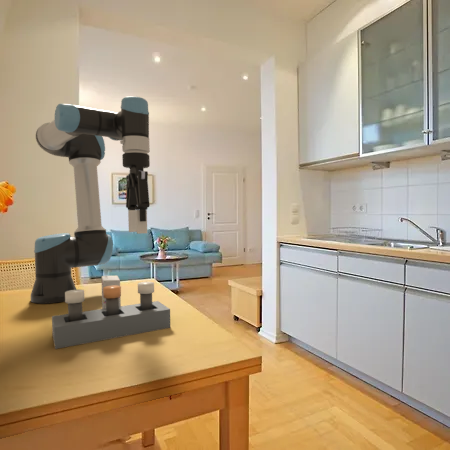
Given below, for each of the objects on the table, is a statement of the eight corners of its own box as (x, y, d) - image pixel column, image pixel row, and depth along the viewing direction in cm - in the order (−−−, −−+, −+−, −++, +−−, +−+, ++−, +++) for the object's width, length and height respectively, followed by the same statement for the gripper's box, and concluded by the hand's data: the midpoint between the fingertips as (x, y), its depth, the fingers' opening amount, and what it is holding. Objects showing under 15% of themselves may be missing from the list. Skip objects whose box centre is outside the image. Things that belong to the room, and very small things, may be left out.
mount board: (52, 335, 89) (51, 316, 88) (158, 317, 102) (158, 300, 102) (55, 348, 80) (54, 327, 80) (170, 327, 94) (170, 309, 94)
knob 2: (136, 309, 96) (135, 282, 96) (151, 307, 98) (151, 281, 98) (140, 313, 92) (140, 285, 92) (156, 310, 95) (156, 283, 94)
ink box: (121, 319, 101) (120, 279, 101) (103, 321, 100) (102, 280, 99) (118, 311, 109) (117, 274, 109) (101, 313, 107) (100, 275, 107)
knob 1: (65, 320, 87) (64, 290, 87) (83, 317, 90) (82, 288, 89) (66, 324, 84) (65, 294, 83) (86, 321, 86) (85, 292, 85)
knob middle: (102, 314, 92) (101, 286, 92) (119, 311, 94) (118, 284, 94) (105, 318, 88) (104, 289, 88) (123, 316, 90) (122, 287, 90)
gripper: (114, 157, 107) (116, 231, 108) (132, 146, 89) (134, 235, 90) (138, 159, 111) (140, 230, 112) (160, 148, 92) (162, 233, 93)
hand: (137, 232), depth 101 cm, fingers open, 8 cm apart
